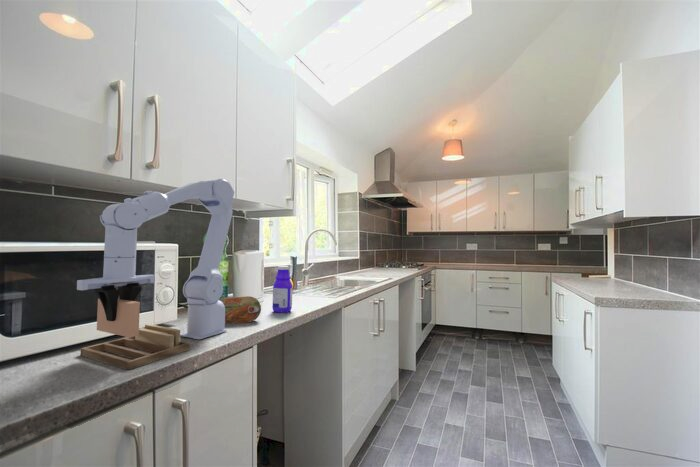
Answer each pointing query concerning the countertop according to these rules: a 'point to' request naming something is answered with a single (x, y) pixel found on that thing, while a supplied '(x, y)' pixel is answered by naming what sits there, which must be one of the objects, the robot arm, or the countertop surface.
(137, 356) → the rack
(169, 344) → the offcuts
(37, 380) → the countertop surface
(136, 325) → the block
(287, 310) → the bottle
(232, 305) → the tin
